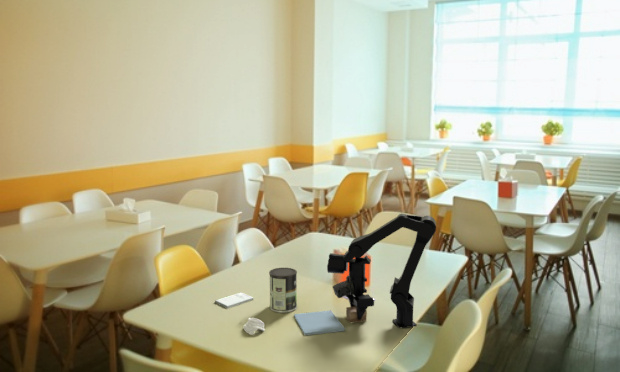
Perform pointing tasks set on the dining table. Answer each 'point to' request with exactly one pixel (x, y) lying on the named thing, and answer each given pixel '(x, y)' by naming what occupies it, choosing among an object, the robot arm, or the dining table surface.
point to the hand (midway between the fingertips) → (356, 316)
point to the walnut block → (354, 315)
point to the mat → (318, 322)
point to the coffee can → (283, 290)
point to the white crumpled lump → (253, 325)
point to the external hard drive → (234, 300)
